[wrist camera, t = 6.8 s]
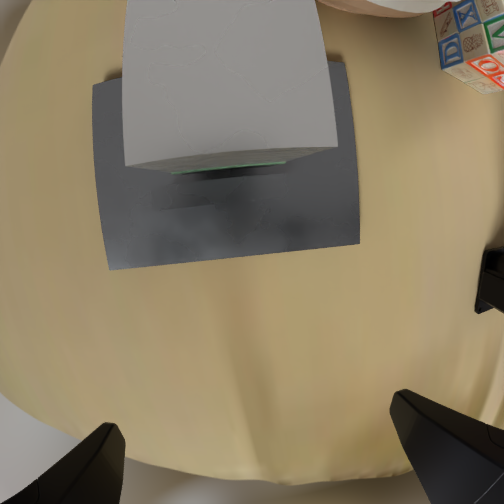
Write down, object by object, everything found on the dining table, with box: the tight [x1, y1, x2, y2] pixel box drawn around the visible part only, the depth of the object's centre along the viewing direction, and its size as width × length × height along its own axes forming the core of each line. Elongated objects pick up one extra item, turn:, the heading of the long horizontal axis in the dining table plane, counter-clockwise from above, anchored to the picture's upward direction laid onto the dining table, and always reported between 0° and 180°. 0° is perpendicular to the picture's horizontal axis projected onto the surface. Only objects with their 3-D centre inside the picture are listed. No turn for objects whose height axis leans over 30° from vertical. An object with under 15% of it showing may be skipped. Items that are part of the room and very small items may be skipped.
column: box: [122, 0, 338, 175], centre depth 8 cm, size 4×5×8 cm
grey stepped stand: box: [92, 61, 360, 270], centre depth 14 cm, size 16×12×7 cm
